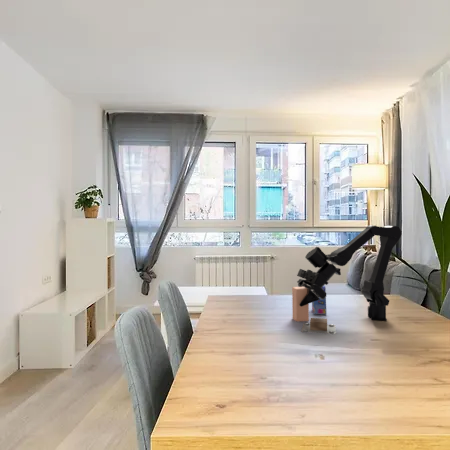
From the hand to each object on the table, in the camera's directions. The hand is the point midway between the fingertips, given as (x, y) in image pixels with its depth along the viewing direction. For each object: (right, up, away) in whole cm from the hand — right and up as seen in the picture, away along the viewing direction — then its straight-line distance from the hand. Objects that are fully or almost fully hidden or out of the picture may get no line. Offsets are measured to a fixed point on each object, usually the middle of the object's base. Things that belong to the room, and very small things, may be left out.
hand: (297, 303), depth 159 cm
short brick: (+6, -6, -13) cm, 15 cm away
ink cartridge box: (+13, -7, +18) cm, 24 cm away
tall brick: (+1, -8, 0) cm, 8 cm away
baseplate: (+6, -8, -13) cm, 16 cm away
